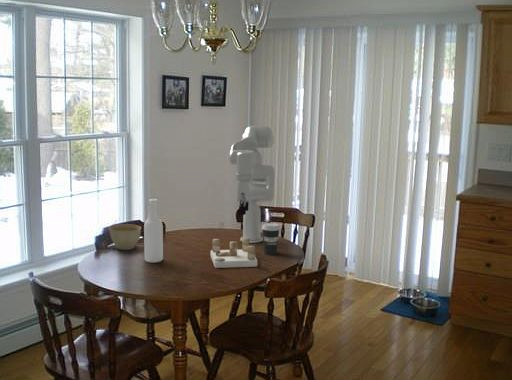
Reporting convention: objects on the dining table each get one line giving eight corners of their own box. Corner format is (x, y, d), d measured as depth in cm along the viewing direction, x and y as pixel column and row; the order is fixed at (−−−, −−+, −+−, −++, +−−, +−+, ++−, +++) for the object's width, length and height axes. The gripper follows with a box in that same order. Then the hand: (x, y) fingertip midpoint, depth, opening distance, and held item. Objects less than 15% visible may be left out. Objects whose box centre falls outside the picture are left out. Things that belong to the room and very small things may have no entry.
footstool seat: (210, 256, 294) (210, 249, 293) (249, 254, 298) (250, 248, 297) (215, 267, 274) (215, 261, 274) (257, 266, 278) (257, 259, 278)
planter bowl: (137, 252, 298) (137, 231, 297) (106, 251, 299) (105, 230, 297) (144, 244, 314) (144, 224, 312) (114, 243, 315) (113, 223, 313)
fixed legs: (212, 250, 293) (212, 238, 292) (248, 249, 296) (249, 237, 295) (216, 261, 275) (216, 248, 274) (255, 259, 278) (255, 247, 277)
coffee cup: (257, 254, 300) (258, 225, 297) (266, 249, 308) (266, 221, 305) (274, 256, 295) (275, 227, 293) (282, 252, 304) (283, 223, 301)
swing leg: (216, 256, 282) (216, 243, 281) (215, 254, 286) (215, 241, 285) (237, 255, 284) (237, 242, 283) (236, 253, 288) (236, 241, 287)
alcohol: (161, 257, 290) (161, 197, 285) (164, 262, 282) (163, 200, 277) (143, 258, 288) (142, 198, 283) (145, 263, 279) (145, 201, 274)
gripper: (239, 174, 292) (238, 208, 294) (233, 179, 275) (233, 215, 277) (254, 175, 291) (253, 209, 294) (249, 180, 274) (249, 216, 277)
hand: (243, 212), depth 286 cm, fingers open, 9 cm apart
